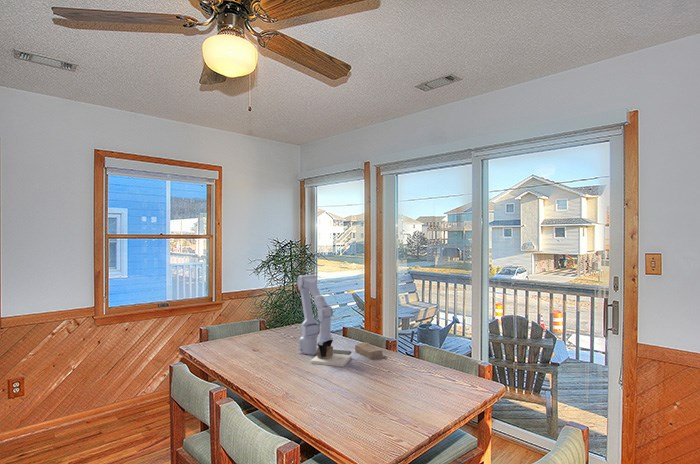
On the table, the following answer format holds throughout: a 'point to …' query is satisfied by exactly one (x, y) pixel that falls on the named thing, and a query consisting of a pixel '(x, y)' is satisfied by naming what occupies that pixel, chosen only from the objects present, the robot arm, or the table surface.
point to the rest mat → (341, 352)
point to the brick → (368, 351)
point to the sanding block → (328, 352)
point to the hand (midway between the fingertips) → (325, 355)
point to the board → (332, 360)
